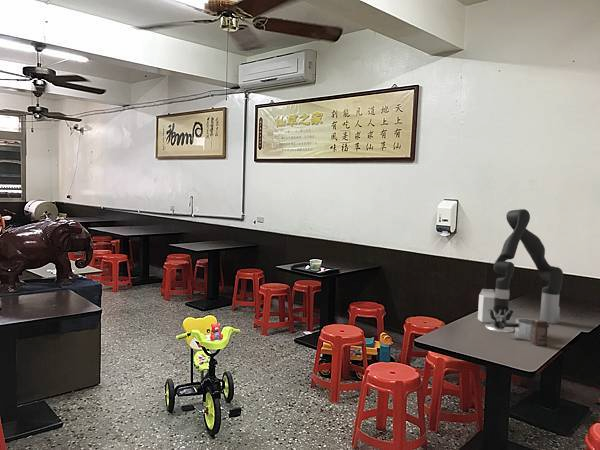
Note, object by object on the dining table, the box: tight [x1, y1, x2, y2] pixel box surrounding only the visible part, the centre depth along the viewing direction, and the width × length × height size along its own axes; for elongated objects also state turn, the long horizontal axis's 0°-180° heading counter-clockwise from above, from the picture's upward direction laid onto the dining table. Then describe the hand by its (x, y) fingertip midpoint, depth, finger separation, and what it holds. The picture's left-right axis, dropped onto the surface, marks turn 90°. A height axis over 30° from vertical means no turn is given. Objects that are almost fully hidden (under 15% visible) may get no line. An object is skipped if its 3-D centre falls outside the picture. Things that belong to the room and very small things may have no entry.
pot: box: [502, 317, 550, 341], centre depth 243 cm, size 25×14×8 cm, turn 95°
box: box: [530, 319, 549, 346], centre depth 231 cm, size 6×4×12 cm
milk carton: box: [477, 288, 495, 324], centre depth 271 cm, size 7×7×19 cm
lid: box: [484, 319, 515, 333], centre depth 258 cm, size 15×15×4 cm
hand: (499, 327), depth 258 cm, fingers closed on lid, 3 cm apart
